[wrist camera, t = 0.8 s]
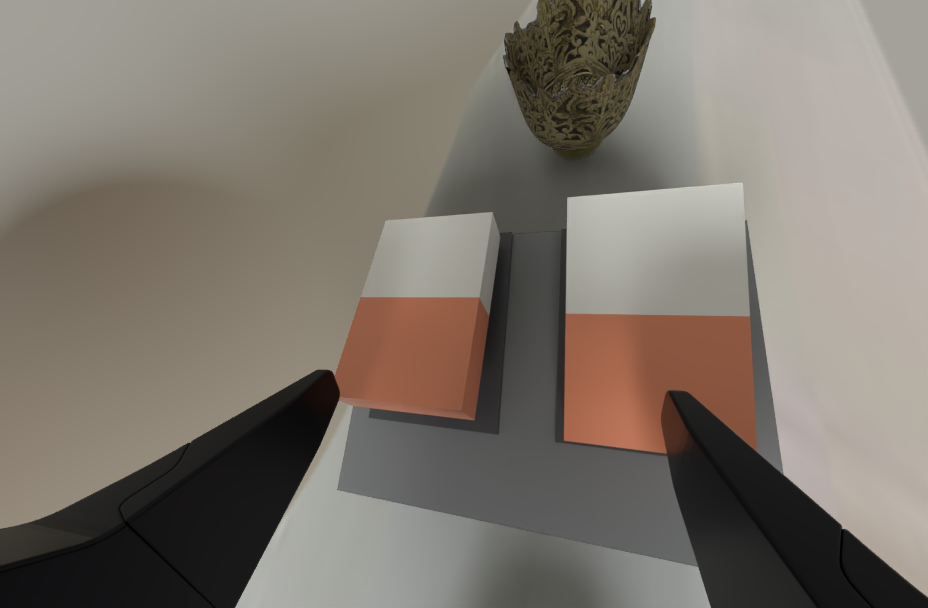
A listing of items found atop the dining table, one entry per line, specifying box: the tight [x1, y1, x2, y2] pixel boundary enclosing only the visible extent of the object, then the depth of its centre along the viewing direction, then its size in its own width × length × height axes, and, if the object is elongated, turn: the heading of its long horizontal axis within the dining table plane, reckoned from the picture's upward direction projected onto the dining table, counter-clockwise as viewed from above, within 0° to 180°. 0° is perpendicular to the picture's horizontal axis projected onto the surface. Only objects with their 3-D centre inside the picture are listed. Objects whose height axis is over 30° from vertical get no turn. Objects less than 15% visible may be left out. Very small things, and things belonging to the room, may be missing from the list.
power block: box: [337, 220, 783, 567], centre depth 17 cm, size 12×16×7 cm
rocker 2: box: [564, 182, 757, 454], centre depth 12 cm, size 8×5×2 cm, turn 174°
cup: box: [503, 0, 656, 159], centre depth 22 cm, size 8×7×8 cm
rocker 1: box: [335, 212, 500, 420], centre depth 14 cm, size 8×5×2 cm, turn 174°
